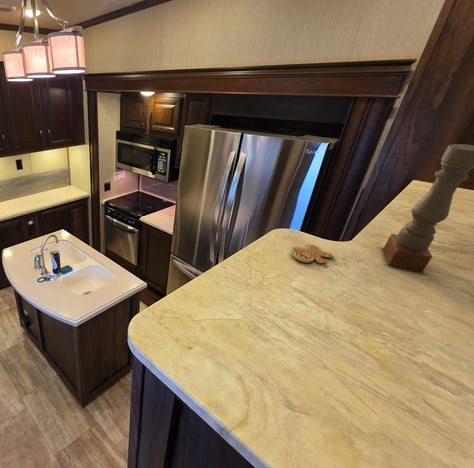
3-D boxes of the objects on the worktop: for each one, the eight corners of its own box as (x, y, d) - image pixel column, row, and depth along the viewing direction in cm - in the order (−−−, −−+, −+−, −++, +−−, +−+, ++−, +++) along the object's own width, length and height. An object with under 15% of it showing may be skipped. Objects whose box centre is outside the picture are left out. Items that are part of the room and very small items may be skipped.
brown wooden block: (413, 254, 79) (423, 239, 76) (422, 272, 73) (432, 256, 70) (383, 248, 82) (391, 233, 80) (388, 265, 76) (397, 249, 73)
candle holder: (423, 241, 76) (482, 145, 63) (430, 253, 71) (495, 152, 58) (392, 236, 78) (442, 142, 66) (397, 247, 74) (452, 149, 61)
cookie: (338, 256, 78) (312, 265, 75) (336, 259, 79) (310, 268, 76) (309, 241, 85) (284, 249, 82) (308, 244, 86) (283, 252, 83)
